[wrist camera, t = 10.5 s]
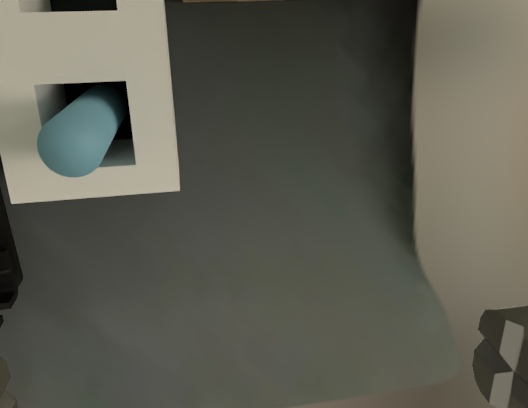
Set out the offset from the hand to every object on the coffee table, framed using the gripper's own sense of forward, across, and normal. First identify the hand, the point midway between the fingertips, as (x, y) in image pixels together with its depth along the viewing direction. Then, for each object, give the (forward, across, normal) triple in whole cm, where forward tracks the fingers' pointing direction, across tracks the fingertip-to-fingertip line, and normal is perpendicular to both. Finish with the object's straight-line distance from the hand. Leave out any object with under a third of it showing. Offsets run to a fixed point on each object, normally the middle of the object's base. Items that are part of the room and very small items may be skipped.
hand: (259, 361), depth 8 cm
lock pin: (+23, +6, -1) cm, 23 cm away
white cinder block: (+23, +6, -4) cm, 24 cm away
